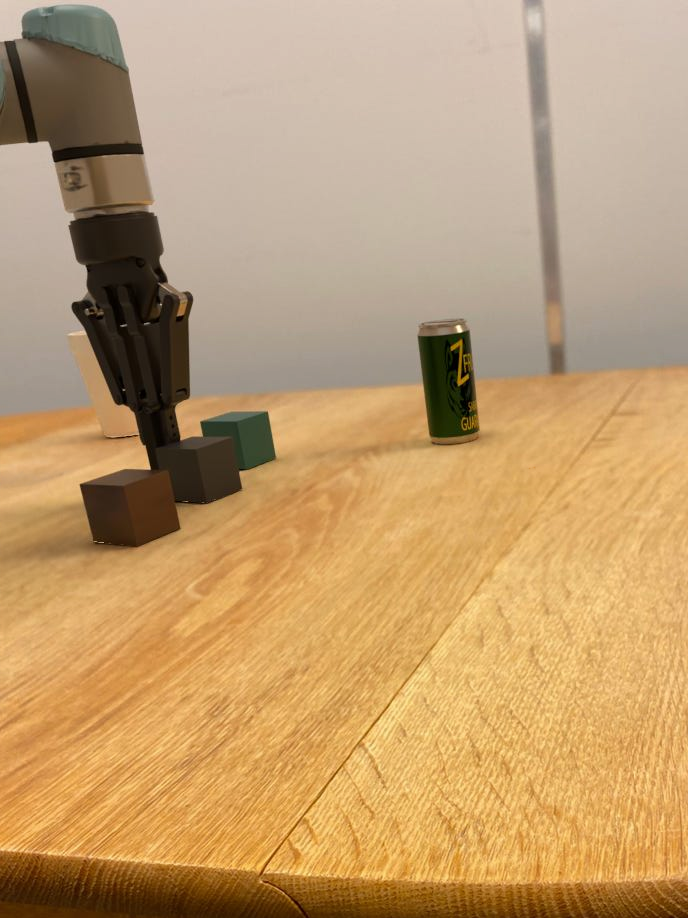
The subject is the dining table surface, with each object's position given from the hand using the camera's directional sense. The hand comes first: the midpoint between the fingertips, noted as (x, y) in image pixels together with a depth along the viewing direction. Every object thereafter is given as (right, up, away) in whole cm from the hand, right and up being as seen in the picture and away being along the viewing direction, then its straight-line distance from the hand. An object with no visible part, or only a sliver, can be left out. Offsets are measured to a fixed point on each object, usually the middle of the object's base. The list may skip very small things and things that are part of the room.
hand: (169, 478), depth 101 cm
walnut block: (+1, -7, -13) cm, 14 cm away
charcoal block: (+4, -2, -1) cm, 4 cm away
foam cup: (-16, +11, +37) cm, 41 cm away
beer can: (+27, +6, +11) cm, 30 cm away
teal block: (+5, +3, +11) cm, 12 cm away
